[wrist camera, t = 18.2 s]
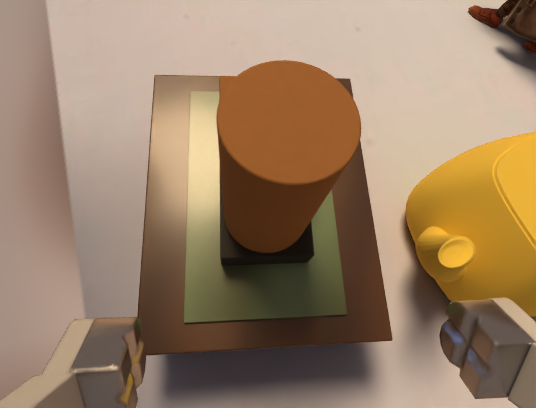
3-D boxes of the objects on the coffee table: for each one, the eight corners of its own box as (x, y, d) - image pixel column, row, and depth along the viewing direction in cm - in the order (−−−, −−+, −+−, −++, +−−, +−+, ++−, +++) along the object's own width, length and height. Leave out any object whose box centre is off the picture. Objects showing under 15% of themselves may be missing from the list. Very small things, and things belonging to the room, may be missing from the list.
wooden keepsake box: (157, 352, 24) (133, 356, 18) (168, 123, 30) (153, 72, 25) (358, 340, 26) (394, 340, 20) (329, 124, 32) (351, 76, 26)
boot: (221, 266, 20) (209, 192, 10) (220, 116, 24) (210, -52, 14) (307, 262, 21) (380, 190, 11) (294, 117, 24) (338, -45, 14)
